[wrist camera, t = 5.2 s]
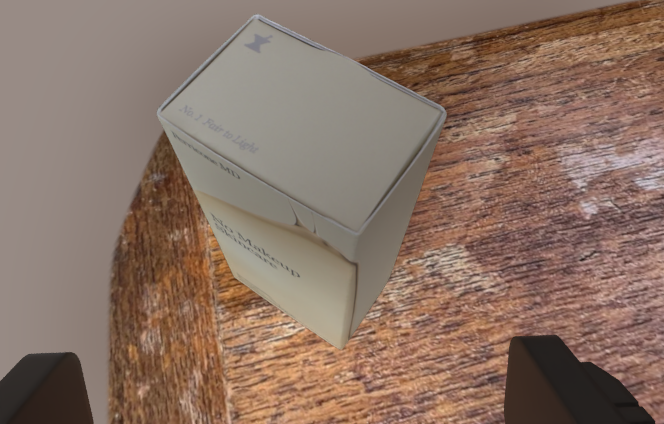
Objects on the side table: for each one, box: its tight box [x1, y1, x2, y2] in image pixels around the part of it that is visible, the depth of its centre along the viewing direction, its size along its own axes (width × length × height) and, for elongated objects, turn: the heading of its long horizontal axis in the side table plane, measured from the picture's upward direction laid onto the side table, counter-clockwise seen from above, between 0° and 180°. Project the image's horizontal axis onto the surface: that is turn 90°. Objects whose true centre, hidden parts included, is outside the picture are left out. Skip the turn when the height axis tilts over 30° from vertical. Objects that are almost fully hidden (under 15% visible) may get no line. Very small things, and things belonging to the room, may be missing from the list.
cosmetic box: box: [157, 14, 447, 349], centre depth 18 cm, size 6×4×12 cm
